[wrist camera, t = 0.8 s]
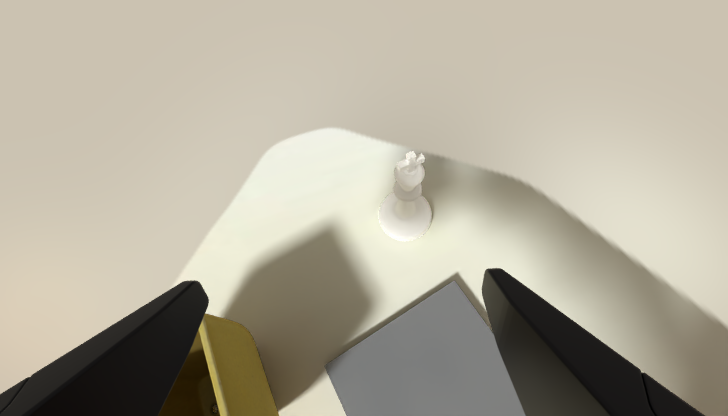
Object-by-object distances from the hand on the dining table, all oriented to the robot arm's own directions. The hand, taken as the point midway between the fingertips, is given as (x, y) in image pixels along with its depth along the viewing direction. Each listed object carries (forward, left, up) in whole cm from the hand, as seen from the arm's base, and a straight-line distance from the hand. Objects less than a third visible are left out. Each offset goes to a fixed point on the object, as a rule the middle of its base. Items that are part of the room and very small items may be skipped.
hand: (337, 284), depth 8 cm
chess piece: (+5, -7, -15) cm, 17 cm away
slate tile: (-8, -1, -15) cm, 17 cm away
